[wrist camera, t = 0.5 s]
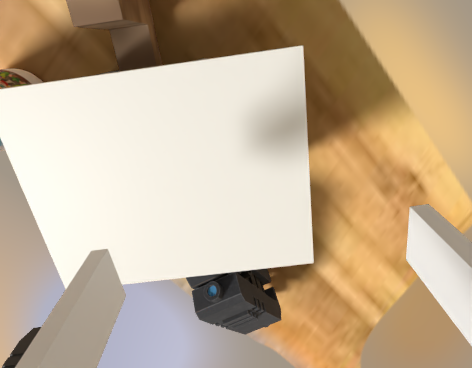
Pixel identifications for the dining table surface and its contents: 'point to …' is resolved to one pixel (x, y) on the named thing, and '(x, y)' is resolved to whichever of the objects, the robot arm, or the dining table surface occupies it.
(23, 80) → the milk bottle
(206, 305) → the tool
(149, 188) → the cabinet
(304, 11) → the dining table surface
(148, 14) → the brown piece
